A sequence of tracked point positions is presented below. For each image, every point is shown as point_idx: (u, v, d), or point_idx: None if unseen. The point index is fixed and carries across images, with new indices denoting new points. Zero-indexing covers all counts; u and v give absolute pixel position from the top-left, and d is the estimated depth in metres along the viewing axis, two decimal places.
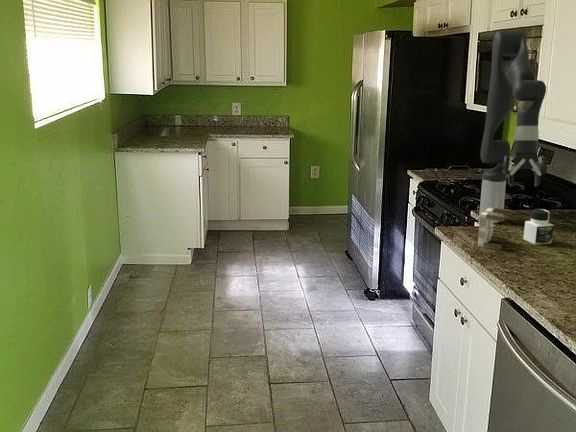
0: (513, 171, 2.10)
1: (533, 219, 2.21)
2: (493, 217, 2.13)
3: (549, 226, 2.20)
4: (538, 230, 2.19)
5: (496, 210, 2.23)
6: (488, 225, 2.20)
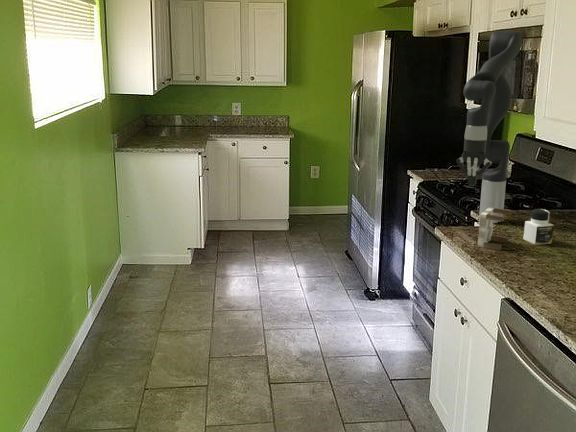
0: (469, 171, 2.19)
1: (533, 219, 2.21)
2: (493, 217, 2.13)
3: (549, 226, 2.20)
4: (538, 230, 2.19)
5: (496, 210, 2.23)
6: (488, 225, 2.20)
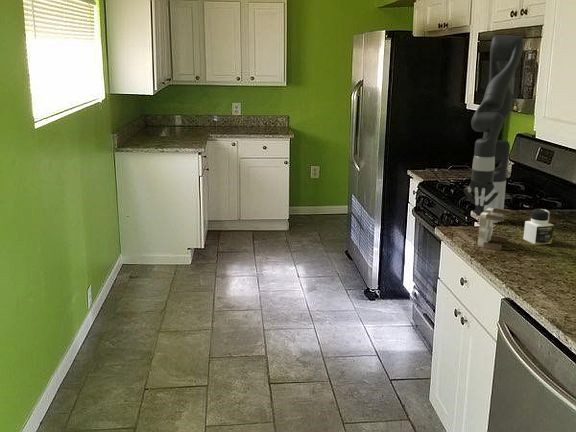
0: (477, 201, 2.20)
1: (533, 219, 2.21)
2: (493, 217, 2.13)
3: (549, 226, 2.20)
4: (538, 230, 2.19)
5: (496, 210, 2.23)
6: (488, 225, 2.20)
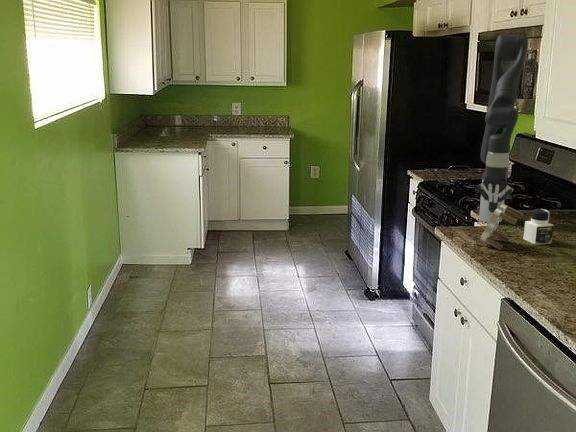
0: (490, 198, 2.17)
1: (533, 219, 2.21)
2: (506, 217, 2.11)
3: (549, 226, 2.20)
4: (538, 230, 2.19)
5: (509, 209, 2.20)
6: (497, 222, 2.18)
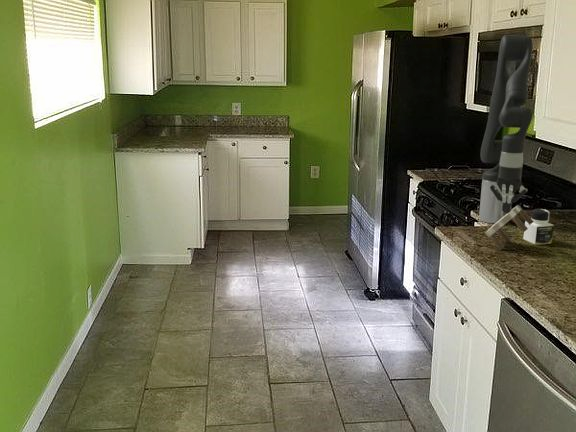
0: (504, 198, 2.15)
1: (533, 219, 2.21)
2: (518, 222, 2.09)
3: (549, 226, 2.20)
4: (538, 230, 2.19)
5: (522, 212, 2.18)
6: None
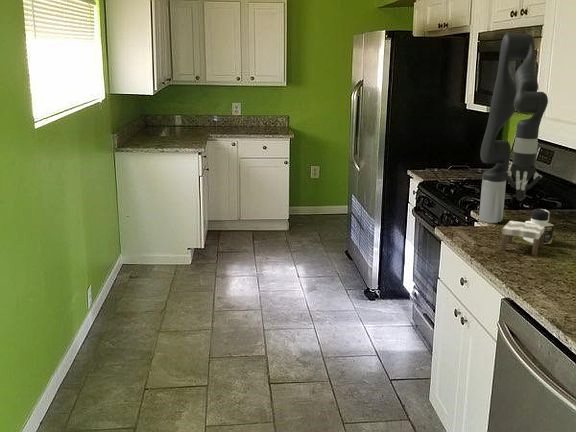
0: (518, 185, 2.11)
1: (533, 219, 2.21)
2: (535, 246, 2.08)
3: (549, 226, 2.20)
4: None
5: (541, 234, 2.16)
6: None
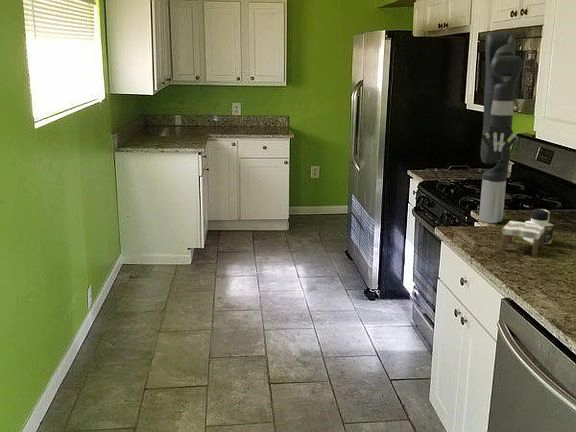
0: (495, 147, 2.20)
1: (533, 219, 2.21)
2: (535, 246, 2.08)
3: (549, 226, 2.20)
4: None
5: (541, 234, 2.16)
6: None
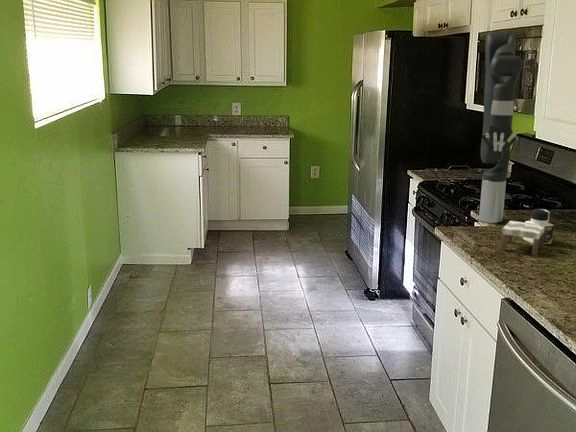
0: (495, 146, 2.20)
1: (533, 219, 2.21)
2: (535, 246, 2.08)
3: (549, 226, 2.20)
4: None
5: (541, 234, 2.16)
6: None
